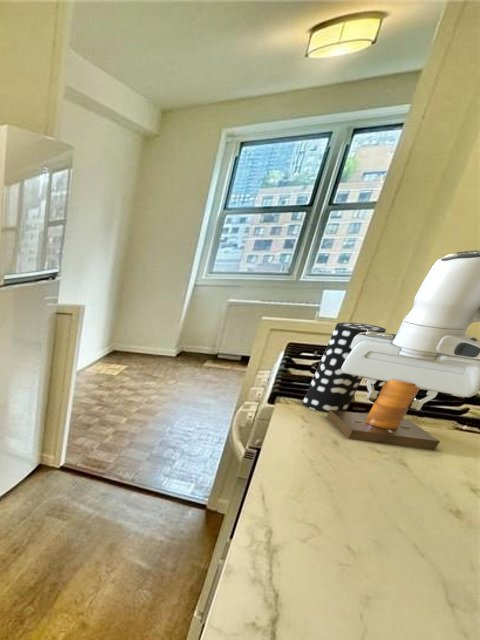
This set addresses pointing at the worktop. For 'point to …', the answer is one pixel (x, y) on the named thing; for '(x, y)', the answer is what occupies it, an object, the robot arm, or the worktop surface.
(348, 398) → the spotted tube
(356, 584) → the worktop surface
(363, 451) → the worktop surface
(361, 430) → the brown flat wooden slab
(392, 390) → the orange ribbed cylinder
